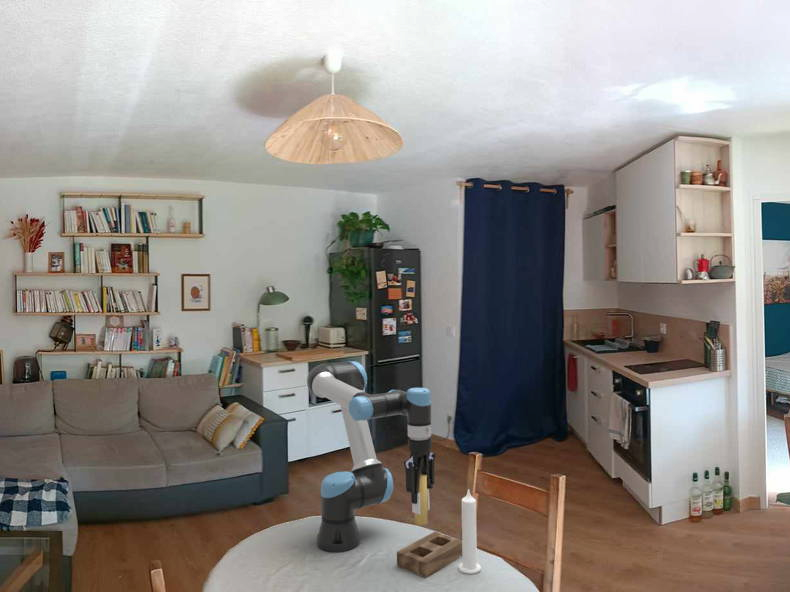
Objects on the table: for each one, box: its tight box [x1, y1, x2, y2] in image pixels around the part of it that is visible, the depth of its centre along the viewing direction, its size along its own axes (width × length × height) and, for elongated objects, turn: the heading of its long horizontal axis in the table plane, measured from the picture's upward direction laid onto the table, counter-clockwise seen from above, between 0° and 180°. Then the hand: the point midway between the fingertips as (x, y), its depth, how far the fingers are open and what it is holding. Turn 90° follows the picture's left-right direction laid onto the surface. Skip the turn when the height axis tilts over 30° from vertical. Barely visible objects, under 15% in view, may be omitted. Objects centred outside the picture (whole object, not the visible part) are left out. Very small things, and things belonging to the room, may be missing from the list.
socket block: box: [396, 531, 462, 579], centre depth 186 cm, size 12×20×4 cm, turn 139°
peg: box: [414, 473, 428, 526], centre depth 182 cm, size 4×4×15 cm
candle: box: [457, 489, 482, 575], centre depth 180 cm, size 7×7×25 cm
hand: (421, 510), depth 182 cm, fingers closed on peg, 4 cm apart
